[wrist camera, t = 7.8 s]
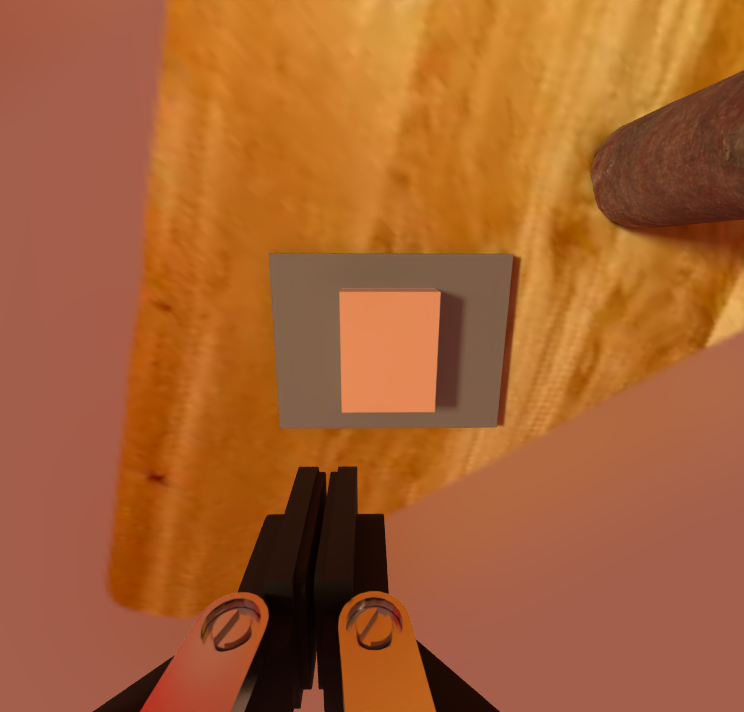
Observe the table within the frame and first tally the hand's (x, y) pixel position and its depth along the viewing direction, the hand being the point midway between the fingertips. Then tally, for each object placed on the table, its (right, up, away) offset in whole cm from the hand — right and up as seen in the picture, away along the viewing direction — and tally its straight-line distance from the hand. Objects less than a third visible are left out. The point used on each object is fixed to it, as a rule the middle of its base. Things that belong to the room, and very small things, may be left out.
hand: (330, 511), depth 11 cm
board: (+3, +6, +20) cm, 21 cm away
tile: (-1, +5, +18) cm, 19 cm away
